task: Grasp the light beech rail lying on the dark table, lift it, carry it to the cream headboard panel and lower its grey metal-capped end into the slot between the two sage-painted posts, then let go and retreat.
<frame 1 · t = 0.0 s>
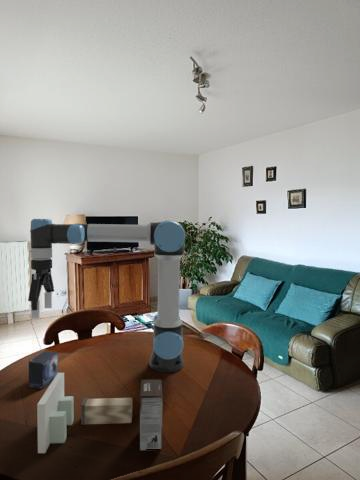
hand: (42, 312, 123), 28 cm above the table, fingers open, 13 cm apart
headboard: (62, 431, 96), on the table
small box: (43, 382, 125), on the table
rail: (108, 419, 102), on the table
coffee box: (150, 440, 93), on the table
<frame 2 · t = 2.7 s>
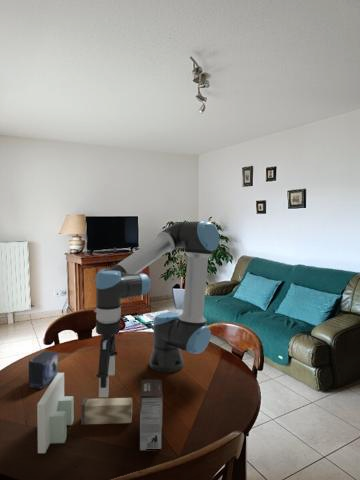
hand: (107, 385, 101), 12 cm above the table, fingers open, 13 cm apart
nothing on the table moved.
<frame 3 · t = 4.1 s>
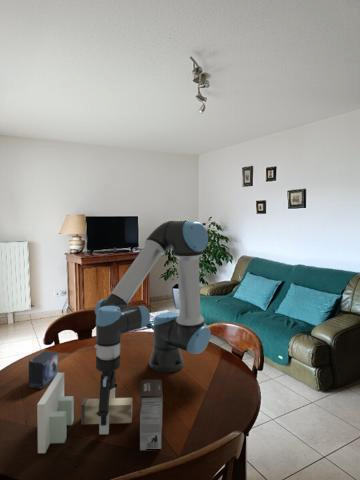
hand: (107, 419, 102), 0 cm above the table, fingers open, 13 cm apart
nothing on the table moved.
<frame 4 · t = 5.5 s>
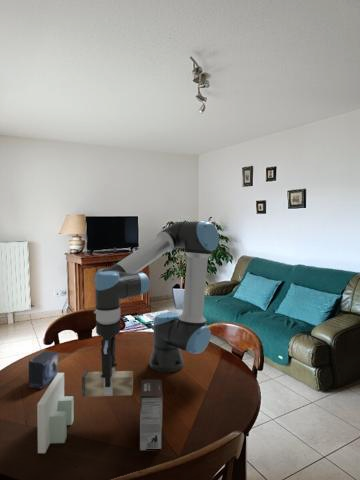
hand: (109, 390, 102), 9 cm above the table, fingers closed on rail, 4 cm apart
rail: (108, 392, 102), point 9 cm above the table, touching gripper
everything else where it was.
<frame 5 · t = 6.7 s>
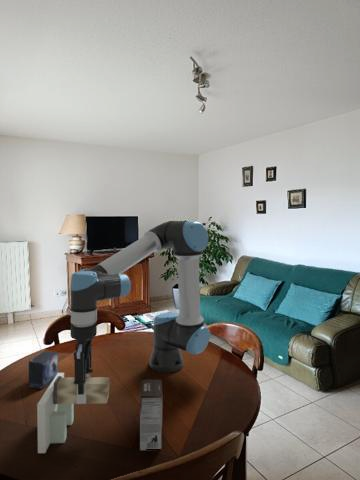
hand: (83, 398, 96), 10 cm above the table, fingers closed on rail, 4 cm apart
rail: (82, 399, 96), point 10 cm above the table, touching gripper
everything else where it was.
when the fingers open (0 cm above the table, at t = 8.7 s): rail stays where it is, on the table.
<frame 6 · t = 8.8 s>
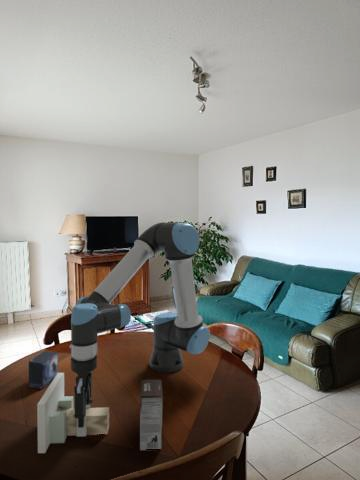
hand: (83, 430, 97), 0 cm above the table, fingers open, 4 cm apart
rail: (83, 430, 97), on the table
everything else where it was.
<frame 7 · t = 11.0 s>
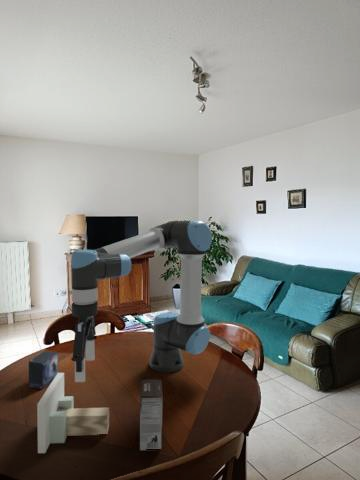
hand: (85, 370, 96), 19 cm above the table, fingers open, 13 cm apart
nothing on the table moved.
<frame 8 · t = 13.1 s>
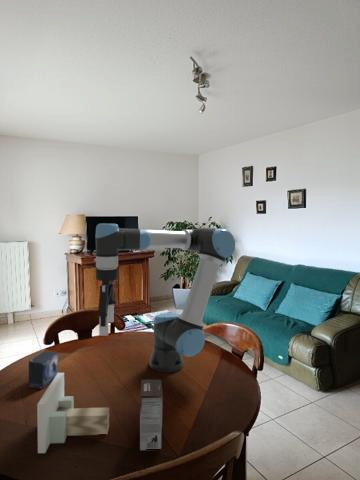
hand: (106, 328, 110), 27 cm above the table, fingers open, 13 cm apart
nothing on the table moved.
at the end: rail 1.3 cm from the target spot on the table beside the headboard, on the table; rail tilted 0°; the gripper is holding nothing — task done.
